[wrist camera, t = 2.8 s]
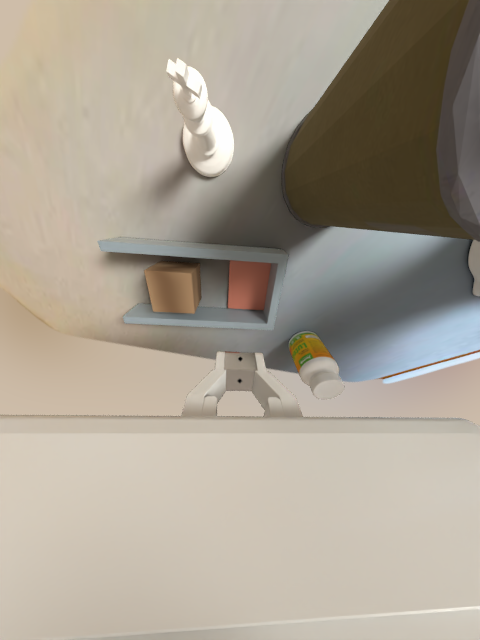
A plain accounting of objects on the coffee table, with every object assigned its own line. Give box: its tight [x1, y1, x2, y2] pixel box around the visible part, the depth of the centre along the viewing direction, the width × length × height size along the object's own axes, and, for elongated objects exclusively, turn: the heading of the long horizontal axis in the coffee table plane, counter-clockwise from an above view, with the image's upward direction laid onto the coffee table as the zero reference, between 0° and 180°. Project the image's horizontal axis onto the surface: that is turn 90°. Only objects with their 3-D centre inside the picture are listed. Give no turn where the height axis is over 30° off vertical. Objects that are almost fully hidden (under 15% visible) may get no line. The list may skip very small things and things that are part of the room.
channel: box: [98, 237, 289, 330], centre depth 22 cm, size 20×10×4 cm, turn 86°
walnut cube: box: [144, 261, 201, 314], centre depth 22 cm, size 5×5×5 cm
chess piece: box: [167, 58, 234, 177], centre depth 12 cm, size 5×5×10 cm
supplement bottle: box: [288, 331, 345, 399], centre depth 26 cm, size 5×5×10 cm
